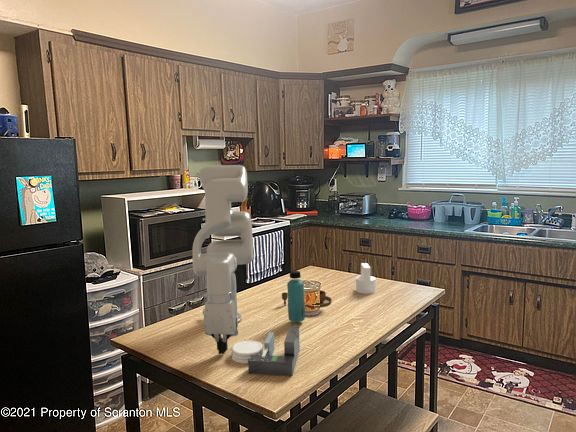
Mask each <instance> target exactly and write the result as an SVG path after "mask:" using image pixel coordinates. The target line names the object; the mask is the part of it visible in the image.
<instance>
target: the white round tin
mask: <svg viewBox="0 0 576 432" xmlns="http://www.w3.org/2000/svg"><path fill="white" fill-rule="evenodd" d="M263 349H264V346H263V344H262V343H261V342H259V341H257V340H244V341H238V342H236V343H235V344H233V345H232V346H231V358H232V360H233V361H234V362H236V363H238V364H244V365H245V364H248V360H249V358H250V356H251V355H263V353H264V350H263Z"/></svg>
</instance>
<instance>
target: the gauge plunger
mask: <svg viewBox="0 0 576 432" xmlns="http://www.w3.org/2000/svg"><path fill="white" fill-rule="evenodd" d="M263 345H264V346H263V349H264V350H263V355H262V358H265V356H266V355H270V356H273V355H274V354H273V353H274V352H275V332H269V333H267V336H266V339H265V341H264V344H263Z"/></svg>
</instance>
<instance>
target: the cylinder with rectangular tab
mask: <svg viewBox="0 0 576 432" xmlns="http://www.w3.org/2000/svg"><path fill="white" fill-rule="evenodd" d="M371 269H372V268H371V266H370V265H369V263H367V262H361V263H360V275H359V276H356V277H355V292H357V293H359V294H365V295H369V294H374V293H376V291H377V289H376V287H377V286H376V285H377V281H376V280H377V279H376V277H375V276H372V275H371V274H372V273H371V272H372V270H371Z"/></svg>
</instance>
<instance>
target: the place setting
mask: <svg viewBox="0 0 576 432" xmlns="http://www.w3.org/2000/svg"><path fill="white" fill-rule="evenodd" d="M326 293H327V292H326V291H324V290H320V307H319V308H321V307H326V306H329V305H331V303H332V300H333V299H332V298H331V297H330V296H327V295H326ZM281 298H282V300H283V306H284V307H286V306H287V301H288V292H281ZM325 300H327V301H328V302H325ZM323 302H325V303H323Z"/></svg>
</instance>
